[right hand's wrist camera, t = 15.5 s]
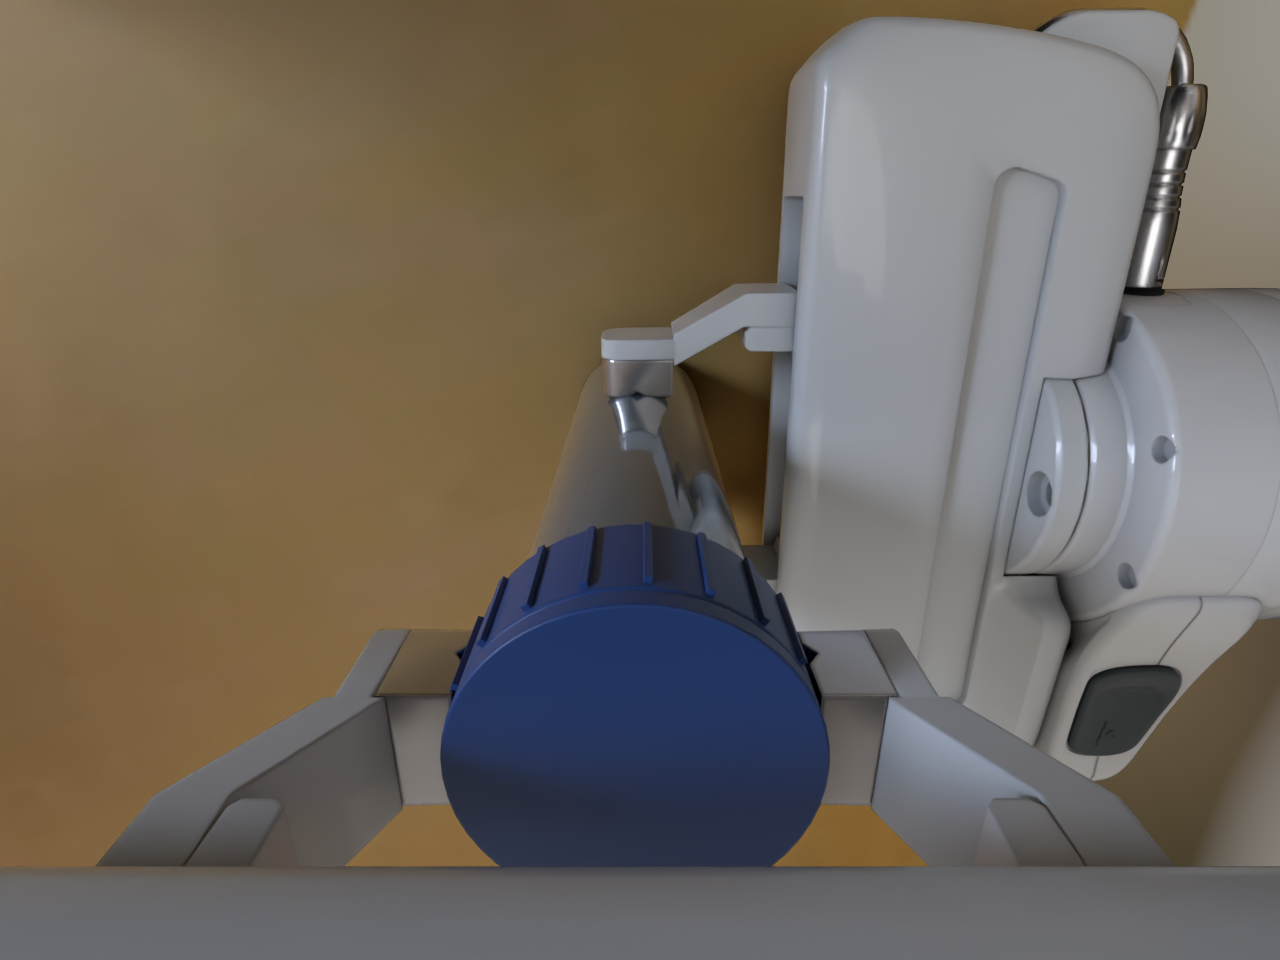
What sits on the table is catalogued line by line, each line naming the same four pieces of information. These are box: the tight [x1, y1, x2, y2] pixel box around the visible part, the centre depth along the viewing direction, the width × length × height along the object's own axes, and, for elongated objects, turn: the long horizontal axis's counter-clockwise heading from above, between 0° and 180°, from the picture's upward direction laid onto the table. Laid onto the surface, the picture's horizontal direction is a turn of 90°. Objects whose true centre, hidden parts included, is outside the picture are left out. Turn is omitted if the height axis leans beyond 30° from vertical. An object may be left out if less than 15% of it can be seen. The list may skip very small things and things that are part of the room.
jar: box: [528, 362, 745, 559], centre depth 17 cm, size 4×4×16 cm
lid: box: [440, 521, 830, 867], centre depth 10 cm, size 5×5×2 cm
